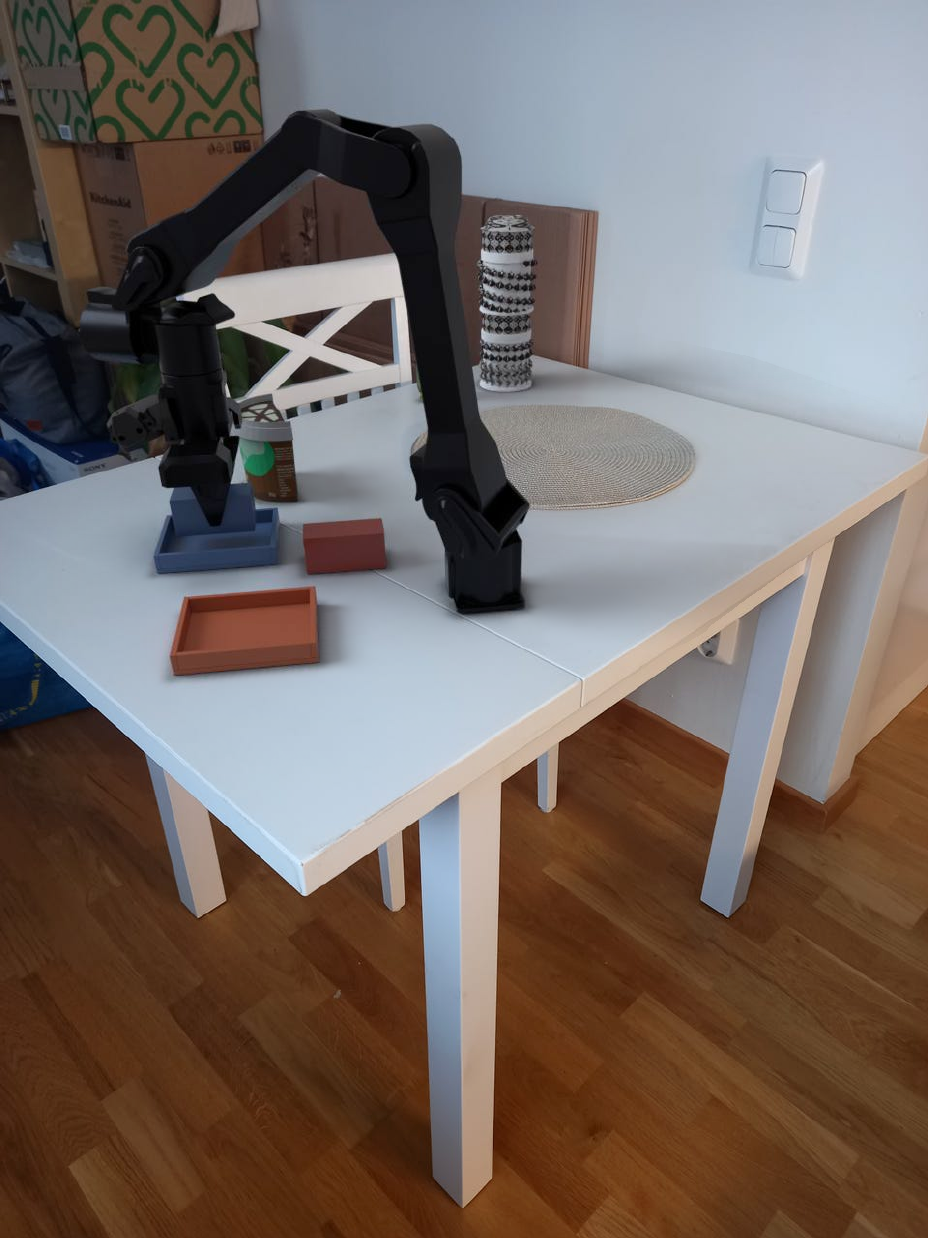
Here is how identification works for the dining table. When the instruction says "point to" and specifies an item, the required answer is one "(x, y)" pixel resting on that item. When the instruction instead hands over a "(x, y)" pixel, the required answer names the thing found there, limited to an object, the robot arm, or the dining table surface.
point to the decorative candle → (506, 303)
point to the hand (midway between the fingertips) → (217, 517)
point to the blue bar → (235, 515)
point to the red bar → (344, 546)
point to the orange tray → (246, 631)
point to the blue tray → (219, 546)
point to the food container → (267, 450)
